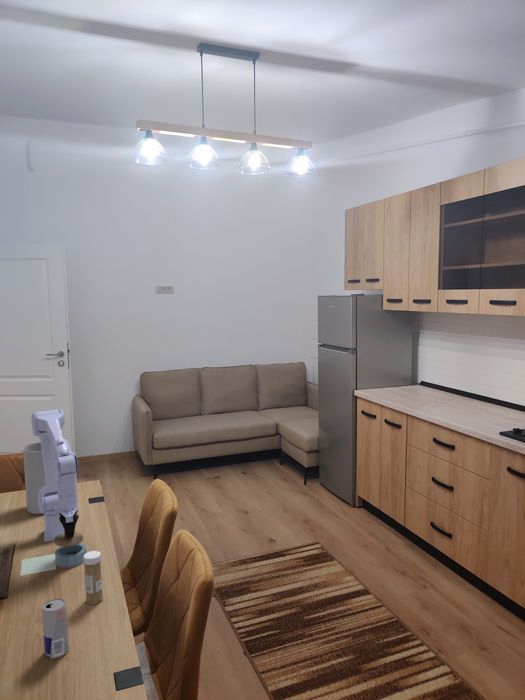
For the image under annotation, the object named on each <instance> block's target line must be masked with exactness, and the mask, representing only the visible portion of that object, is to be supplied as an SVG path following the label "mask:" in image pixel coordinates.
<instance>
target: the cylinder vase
mask: <svg viewBox="0 0 525 700" xmlns="http://www.w3.org/2000/svg"><path fill="white" fill-rule="evenodd" d="M22 455H23V456H22V457H23V469H24V471H23V472H24V483H25V484H24V486H25V500H26V510H27V512H28V513H30V514H31V515H44V513H41V512H40V510H39V504H38V492H39V490H40V489H41V488H42V487H43V486H44V485H45V484H46V481H45V472H44V464H43V455H42V447H41V441H39V442H34V443H30V444H26V445H25V446H23V447H22ZM57 491H58V490H57ZM57 491H52V492H48V493H53V492H57ZM48 493H46V494H48Z"/></svg>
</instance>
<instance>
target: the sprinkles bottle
mask: <svg viewBox="0 0 525 700" xmlns="http://www.w3.org/2000/svg"><path fill="white" fill-rule="evenodd" d="M83 559H84V562H83V564H84V583H85V584H84V585H85V596H86V599H85V601H86V603H87V604H88V605H96V604H99V603H101V602H102V601H103V599H104V595H103V582H102V581H103V580H102V579H103V578H102V567H101V566H102V565H101V562H102V554H101V552H100V551H98V550H93V551H92V550H90V551H87V553H86V554H85V555H84V557H83Z"/></svg>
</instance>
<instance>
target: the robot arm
mask: <svg viewBox="0 0 525 700" xmlns="http://www.w3.org/2000/svg"><path fill="white" fill-rule="evenodd" d="M30 419H31V427H32V433H33V436H34V437H37V438H39V442H41V447H42V455H43V464H44V472H45V481H46V484H45V485H44V486H43V487H42V488H41V489H40V490H39V492H38V504H39V510H40V512H41V513H44V514H43V517H44V529H43V530H44V531H43V532H44V533H43V535H44V537H43V538H44V539H43V541H44V542H45V543H46V542H51V541H53V542H54V539H55V537H56V536H58V535H60V534H63V533H64V531H65V535H66V537H67V538H70V537H74V533H75V532H76V531H75V530H76V525H77V522H78V521H79V517H80V516H79V514H78V512H79V507H80V505H79V500H78V485H77V484H78V481H77V473H78V472H79V461H78V457H77V454H76V453H75V452H74V451H72V448H71V446H70V443H69V442H68V440H67V439H66V438H64V437H63V432H62V429H63V427H64V425H65V413H64V410H63V409H62V408H58V409H51V410H42V411H41V410H40V411H37V412H36V411H33V412H32V413H31V418H30ZM57 490H58V491H57ZM52 491H57V492H53V493H48V492H52ZM46 493H48V494H46Z"/></svg>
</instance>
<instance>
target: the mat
mask: <svg viewBox="0 0 525 700" xmlns="http://www.w3.org/2000/svg"><path fill="white" fill-rule="evenodd" d="M20 565H21V567H20V568H21V569H20V577H22V576H28V575H32V574H33V575H34V574H37V573H43V572H48V571H52V570H56V569H57V565H56V559H55V553H51V554H47V555H46V554H45V555H40V556H36V557H31V558H30V557H29V558H25V559H21V564H20Z"/></svg>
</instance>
